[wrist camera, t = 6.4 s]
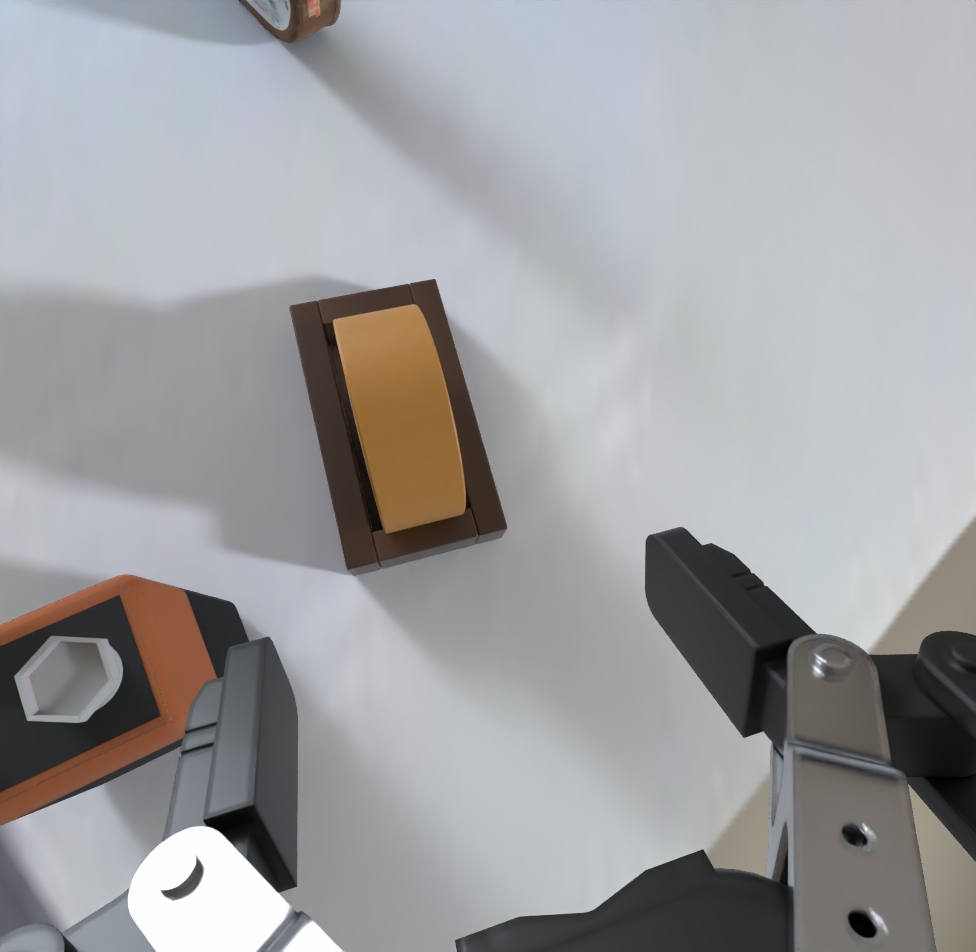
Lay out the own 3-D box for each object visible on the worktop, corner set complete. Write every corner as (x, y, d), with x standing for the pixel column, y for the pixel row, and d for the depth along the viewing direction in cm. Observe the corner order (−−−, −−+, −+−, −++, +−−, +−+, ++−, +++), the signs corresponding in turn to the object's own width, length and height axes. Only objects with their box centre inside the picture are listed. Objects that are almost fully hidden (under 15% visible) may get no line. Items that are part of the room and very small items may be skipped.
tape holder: (352, 576, 25) (346, 570, 23) (297, 329, 28) (288, 305, 26) (502, 537, 26) (508, 528, 24) (434, 302, 29) (435, 278, 27)
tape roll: (383, 526, 27) (384, 545, 19) (339, 346, 27) (321, 290, 19) (452, 508, 27) (480, 521, 19) (409, 332, 27) (421, 272, 19)
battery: (275, 700, 24) (173, 732, 14) (93, 789, 22) (-157, 892, 13) (235, 596, 25) (114, 559, 15) (58, 675, 23) (-201, 691, 14)
